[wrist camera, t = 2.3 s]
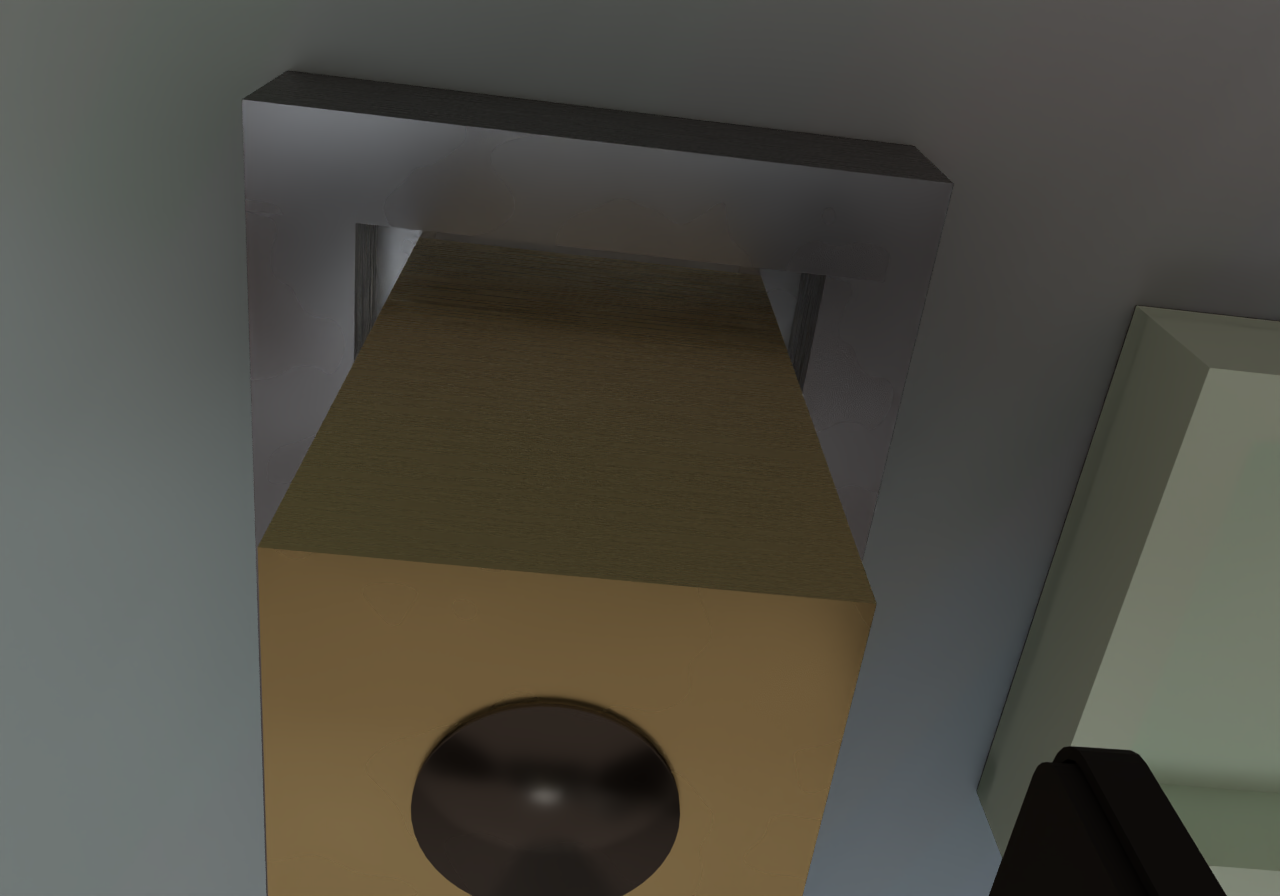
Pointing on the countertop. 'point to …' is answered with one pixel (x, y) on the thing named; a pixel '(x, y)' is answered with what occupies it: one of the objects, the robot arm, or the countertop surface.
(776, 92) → the countertop surface
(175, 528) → the countertop surface
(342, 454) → the pale yellow tall block
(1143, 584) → the tray
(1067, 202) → the countertop surface
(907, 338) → the grey metal tray
